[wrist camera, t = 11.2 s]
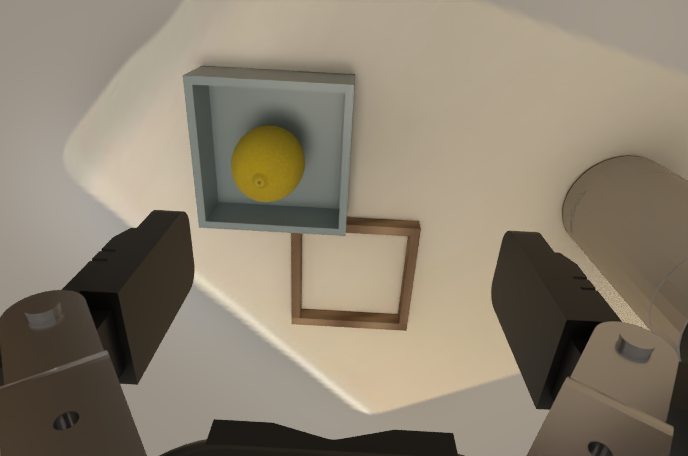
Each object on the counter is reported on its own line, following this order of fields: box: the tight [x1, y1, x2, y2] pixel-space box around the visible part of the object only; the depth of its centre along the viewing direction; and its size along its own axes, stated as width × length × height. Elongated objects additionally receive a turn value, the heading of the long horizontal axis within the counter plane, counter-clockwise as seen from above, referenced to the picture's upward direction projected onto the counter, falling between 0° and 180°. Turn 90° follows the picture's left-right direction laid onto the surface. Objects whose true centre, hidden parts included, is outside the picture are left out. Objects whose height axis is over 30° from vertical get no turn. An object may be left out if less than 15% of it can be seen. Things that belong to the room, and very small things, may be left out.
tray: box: [291, 217, 421, 331], centre depth 45 cm, size 12×12×2 cm
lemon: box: [231, 125, 305, 202], centre depth 36 cm, size 6×6×8 cm
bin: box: [183, 66, 355, 236], centre depth 38 cm, size 12×12×4 cm
